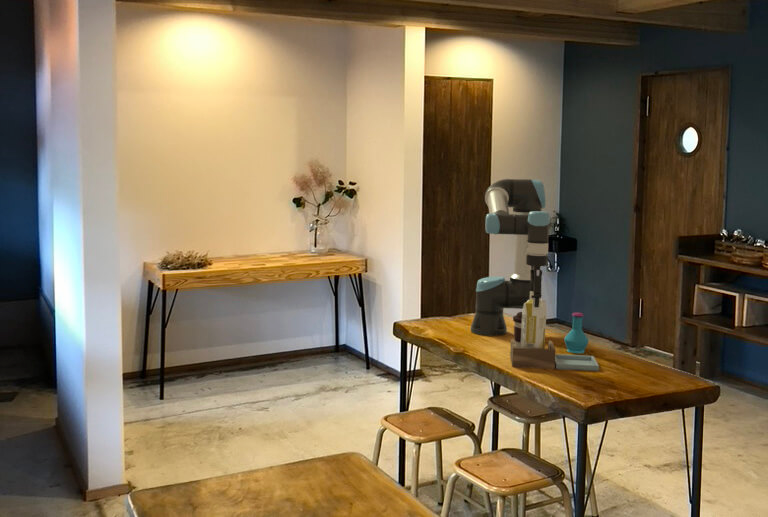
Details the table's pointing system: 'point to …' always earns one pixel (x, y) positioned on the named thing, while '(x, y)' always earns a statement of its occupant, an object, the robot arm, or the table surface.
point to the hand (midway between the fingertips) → (534, 312)
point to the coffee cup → (517, 329)
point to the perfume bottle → (576, 336)
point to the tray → (576, 362)
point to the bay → (533, 356)
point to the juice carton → (533, 326)
